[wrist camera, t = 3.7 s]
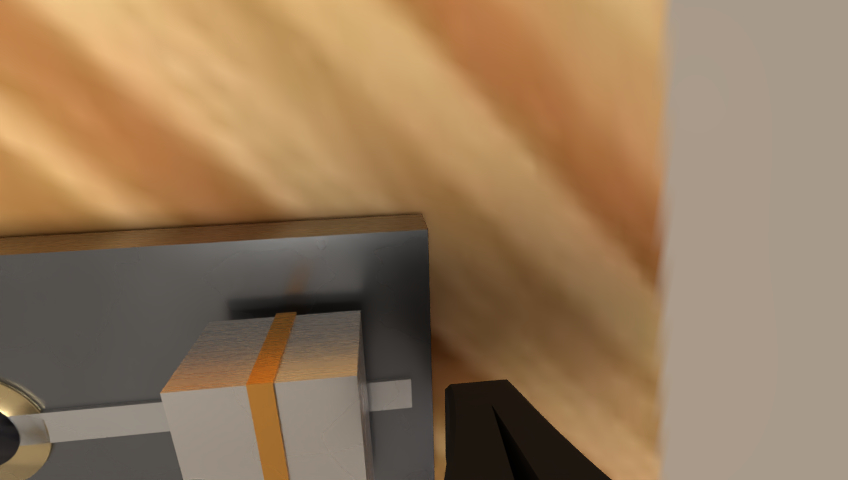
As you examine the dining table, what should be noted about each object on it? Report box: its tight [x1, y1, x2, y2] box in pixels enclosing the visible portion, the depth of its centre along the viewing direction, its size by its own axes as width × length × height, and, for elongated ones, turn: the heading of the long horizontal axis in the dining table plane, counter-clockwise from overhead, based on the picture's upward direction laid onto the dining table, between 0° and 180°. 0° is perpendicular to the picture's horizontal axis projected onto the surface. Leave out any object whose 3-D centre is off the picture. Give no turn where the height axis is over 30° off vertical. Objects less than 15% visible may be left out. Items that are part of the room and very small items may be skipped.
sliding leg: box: [160, 310, 375, 480], centre depth 9 cm, size 5×3×2 cm, turn 1°
